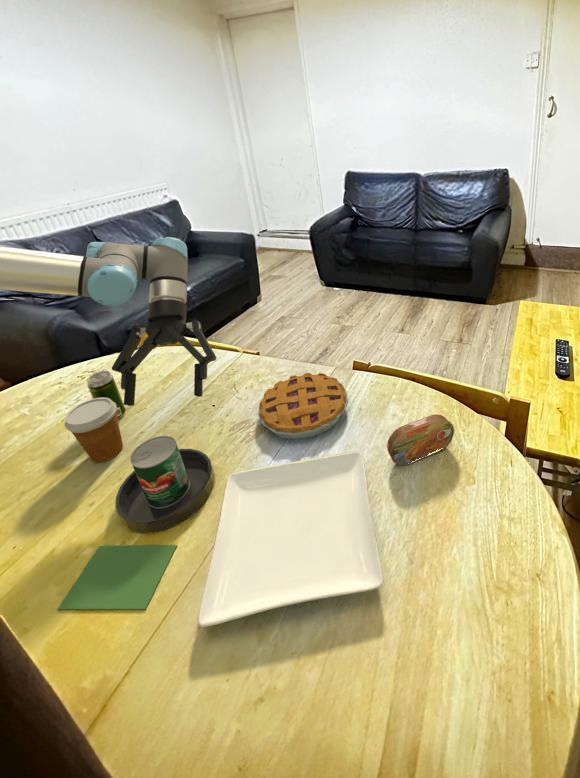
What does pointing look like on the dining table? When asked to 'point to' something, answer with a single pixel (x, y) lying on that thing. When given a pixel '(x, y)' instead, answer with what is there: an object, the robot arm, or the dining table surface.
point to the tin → (419, 439)
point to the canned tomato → (160, 471)
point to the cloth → (119, 578)
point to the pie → (303, 406)
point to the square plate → (291, 538)
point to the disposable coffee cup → (96, 428)
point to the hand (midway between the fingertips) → (163, 400)
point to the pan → (152, 520)
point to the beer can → (106, 390)
